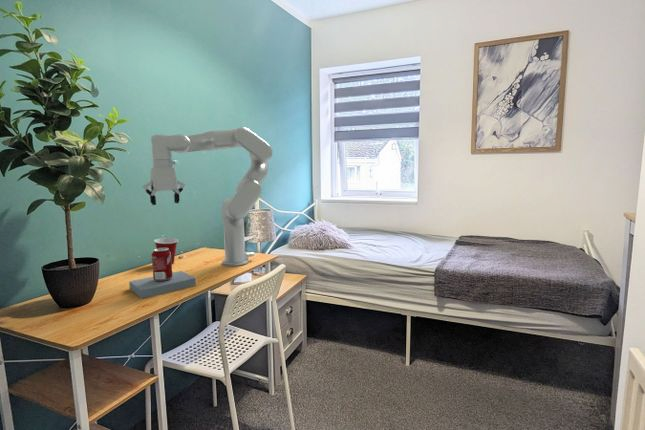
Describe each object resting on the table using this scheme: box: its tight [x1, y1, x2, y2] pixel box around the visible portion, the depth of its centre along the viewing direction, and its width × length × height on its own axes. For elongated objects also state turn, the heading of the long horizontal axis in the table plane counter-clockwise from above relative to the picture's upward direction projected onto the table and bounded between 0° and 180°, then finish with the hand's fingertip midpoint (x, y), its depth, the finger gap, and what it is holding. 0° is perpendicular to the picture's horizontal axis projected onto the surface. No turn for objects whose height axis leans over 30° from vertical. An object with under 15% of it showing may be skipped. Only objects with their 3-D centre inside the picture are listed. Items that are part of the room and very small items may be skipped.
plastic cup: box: [153, 237, 179, 265], centre depth 173 cm, size 11×11×12 cm
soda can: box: [151, 248, 173, 281], centre depth 138 cm, size 7×7×12 cm
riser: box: [128, 270, 197, 299], centre depth 139 cm, size 20×14×3 cm
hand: (165, 203), depth 156 cm, fingers open, 9 cm apart
